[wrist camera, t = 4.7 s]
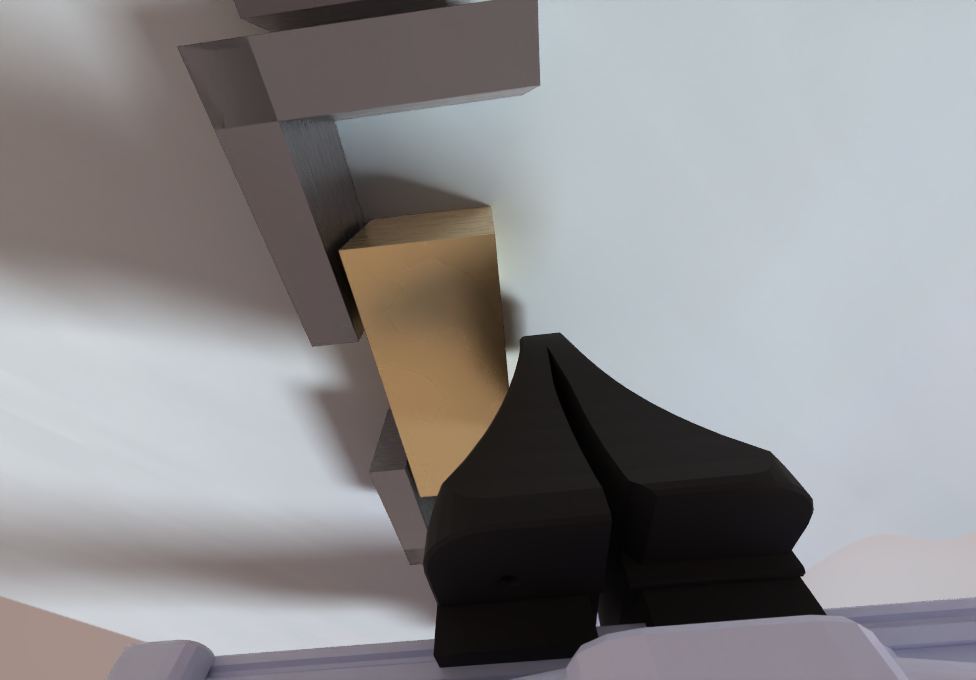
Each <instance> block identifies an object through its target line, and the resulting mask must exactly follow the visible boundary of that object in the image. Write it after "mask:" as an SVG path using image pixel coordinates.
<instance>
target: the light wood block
mask: <svg viewBox="0 0 976 680" xmlns="http://www.w3.org/2000/svg"><path fill="white" fill-rule="evenodd" d="M339 253H340V256H341V259H342V262H343V265H344V268H345V272H346V275H347V278H348V281H349V284H350V287H351V290H352V293H353V296H354V299H355V302H356V305H357V308H358V311H359V314H360V317H361V320H362V323H363V326H364V329H365V332H366V335H367V338H368V341H369V344H370V347H371V350H372V353H373V356H374V359H375V362H376V365H377V368H378V371H379V374H380V377H381V380H382V383H383V386H384V389H385V392H386V395H387V398H388V401H389V404H390V407H391V410H392V413H393V416H394V419H395V422H396V425H397V428H398V431H399V434H400V437H401V440H402V443H403V446H404V449H405V452H406V455H407V458H408V462H409V465H410V468H411V471H412V474H413V477H414V480H415V483H416V486H417V489H418V492H419V495H420V497H427V496H437V495H438V493H439V490H440V487H441V485H442V483H443V482H444V481H445V480H446V479H447V478H448V477H449V476H450V475H451V474H452V473H453V472H454V470H455V469H456V468H457V467H458V466H459V465H460V464H461V463H462V462H463V461H464V460H465V458H466V457H467V456H468V455H469V453H470V452H471V451H472V449H473V448H474V447H475V445H476V444H477V443H478V442H479V440H480V439H481V438H482V436H483V435H484V433H485V432H486V430H487V429H488V427H489V426H490V424H491V422H492V421H493V419H494V417H495V416H496V414H497V412H498V410H499V408H500V407H501V405H502V403H503V401H504V398H505V396H506V394H507V392H508V389H509V383H508V372H507V361H506V350H505V339H504V328H503V317H502V306H501V295H500V284H499V273H498V263H497V252H496V241H495V231H494V224H493V216H492V209H491V206H486V207H477V208H468V209H460V210H451V211H442V212H433V213H424V214H415V215H406V216H397V217H389V218H380V219H372V220H371V221H370V222H369V223H368V224H367V225H366V226H365V227H363V228H362V229H361V230H360V231H359V232H358V233H357V234H356V235H355V236H354V237H353V238H352V239H350V240H349V241H348V242H347V243H346V244H345V245H344V246H343V247H342V248H341V249H340V250H339Z"/></svg>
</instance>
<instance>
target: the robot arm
mask: <svg viewBox="0 0 976 680" xmlns="http://www.w3.org/2000/svg"><path fill="white" fill-rule="evenodd" d="M813 510H814V509H813V499H812V498H811V497H810V495H809V494H808V493H807V491H806V490H805V489H804V488H803V487H802V485H801V484H800V483H799V482H798V481H797V480H796V479H795V477H794V476H793V475H792V474H791V473H790V472H789V470H788V469H787V468H786V467H785V466H784V465H783V464H782V463H781V462H780V461H779V460H778V459H777V458H776V457H775V456H774V455H773V454H772V453H771V452H770V451H767V450H764V449H761V448H758V447H756V446H753V445H750V444H747V443H744V442H741V441H738V440H735V439H732V438H729V437H726V436H724V435H721V434H718V433H716V432H713V431H711V430H708V429H706V428H704V427H701V426H699V425H696V424H694V423H692V422H689V421H687V420H685V419H683V418H681V417H678V416H676V415H674V414H672V413H670V412H668V411H666V410H664V409H662V408H660V407H658V406H656V405H654V404H653V403H651V402H649V401H647V400H645V399H644V398H642V397H640V396H639V395H637V394H635V393H634V392H632V391H631V390H629V389H627V388H626V387H624V386H623V385H621V384H620V383H618V382H617V381H615V380H614V379H613V378H611V377H610V376H609V375H607V374H606V373H605V372H603V371H602V370H601V369H600V368H598V367H597V366H596V365H595V364H594V363H593V362H591V361H590V360H589V359H588V358H587V357H586V356H584V355H583V354H582V353H581V352H580V351H579V350H578V349H577V348H576V347H575V346H574V345H573V344H572V343H571V342H570V341H568V340H567V339H566V338H565V337H564V336H563V335H562V334H561V333H551V334H542V335H533V336H523V337H522V338H521V339H520V353H519V358H518V362H517V366H516V369H515V373H514V376H513V379H512V381H511V384H510V387H509V389H508V392H507V394H506V396H505V398H504V401H503V403H502V405H501V407H500V408H499V410H498V412H497V414H496V416H495V417H494V419H493V421H492V422H491V424H490V426H489V427H488V429H487V430H486V432H485V433H484V435H483V436H482V438H481V439H480V440H479V442H478V443H477V444H476V445H475V447H474V448H473V449H472V451H471V452H470V453H469V455H468V456H467V457H466V458H465V460H464V461H463V462H462V463H461V464H460V465H459V466H458V467H457V468H456V469H455V470H454V472H453V473H452V474H451V475H450V476H449V477H448V478H447V479H446V480H445V481H444V482H443V483H442V485H441V487H440V490H439V493H438V495H437V498H436V501H435V504H434V507H433V510H432V513H431V517H430V521H429V525H428V530H427V535H426V543H425V551H424V559H423V566H424V573H425V575H426V578H427V580H428V582H429V585H430V587H431V590H432V592H433V594H434V597H435V599H436V602H437V616H436V629H435V639H430V640H417V641H404V642H392V643H379V644H366V645H353V646H340V647H327V648H314V649H301V650H288V651H275V652H262V653H249V654H237V655H224V656H214V654H213V652H212V651H211V650H210V649H209V648H207V647H206V646H205V645H203V644H201V643H198V642H195V641H190V640H172V641H159V642H147V643H134V644H131V645H129V646H127V647H126V648H125V649H124V651H123V652H122V654H121V655H120V657H119V658H118V660H117V661H116V663H115V664H114V666H113V667H112V669H111V670H110V672H109V673H108V675H107V676H106V678H105V679H104V680H976V597H973V598H961V599H948V600H934V601H921V602H909V603H896V604H883V605H870V606H856V607H844V608H831V609H822V607H821V606H820V604H819V603H818V602H817V600H816V599H815V597H814V596H813V594H812V593H811V591H810V590H809V589H808V587H807V586H806V585H805V583H804V582H803V580H802V579H801V576H804V574H805V569H804V567H803V565H802V564H801V562H800V561H799V560H798V558H797V557H796V556H795V554H794V553H793V551H792V549H793V547H794V546H795V544H796V542H797V541H798V539H799V538H800V536H801V535H802V533H803V532H804V530H805V529H806V527H807V525H808V524H809V521H810V519H811V516H812V514H813Z"/></svg>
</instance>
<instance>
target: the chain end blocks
mask: <svg viewBox="0 0 976 680" xmlns="http://www.w3.org/2000/svg"><path fill="white" fill-rule="evenodd" d="M234 2H235V4H236V7H237V10H238V13H239V15H240V18H241V19H243V20H246V21H248V22H250V23H253V24H255V25H257V26H260V27H262V28H264V29H267V30H269V31H271V32H273V33H266V34H259V35H253V36H246V37H239V38H232V39H225V40H219V41H212V42H205V43H198V44H191V45H184V46H178V49H179V52H180V54H181V56H182V58H183V60H184V63H185V65H186V67H187V69H188V72H189V74H190V76H191V78H192V80H193V83H194V85H195V87H196V89H197V92H198V94H199V96H200V98H201V100H202V103H203V105H204V107H205V109H206V112H207V114H208V116H209V118H210V120H211V123H212V125H213V127H214V129H215V132H216V134H217V136H218V138H219V140H220V143H221V145H222V147H223V149H224V152H225V154H226V156H227V158H228V160H229V163H230V165H231V167H232V169H233V172H234V174H235V176H236V178H237V180H238V183H239V185H240V187H241V189H242V192H243V194H244V196H245V198H246V200H247V203H248V205H249V207H250V209H251V212H252V214H253V216H254V218H255V220H256V223H257V225H258V227H259V229H260V232H261V234H262V236H263V238H264V240H265V243H266V245H267V247H268V249H269V252H270V254H271V256H272V258H273V260H274V263H275V265H276V267H277V269H278V272H279V274H280V276H281V278H282V280H283V283H284V285H285V287H286V289H287V292H288V294H289V296H290V298H291V300H292V303H293V305H294V307H295V309H296V312H297V314H298V316H299V318H300V320H301V323H302V325H303V327H304V329H305V332H306V334H307V336H308V338H309V340H310V343H311V345H312V347H314V346H323V345H332V344H341V343H350V342H358V341H359V339H360V337H361V336H362V334H363V332H364V330H365V329H364V326H363V323H362V320H361V317H360V314H359V311H358V308H357V305H356V302H355V299H354V296H353V293H352V290H351V287H350V284H349V281H348V278H347V275H346V272H345V268H344V265H343V262H342V259H341V256H340V253H339V250H340V249H341V248H342V247H343V246H344V245H345V244H346V243H347V242H348V241H349V240H350V239H352V238H353V237H354V236H355V235H356V234H357V233H358V232H359V231H360V230H361V229H362V228H363V227H365V224H364V221H363V217H362V214H361V211H360V207H359V204H358V200H357V197H356V194H355V190H354V187H353V183H352V180H351V176H350V173H349V170H348V166H347V163H346V159H345V156H344V153H343V149H342V146H341V142H340V139H339V135H338V132H337V129H336V125H335V122H334V121H336V120H343V119H351V118H358V117H365V116H373V115H380V114H387V113H395V112H402V111H409V110H417V109H424V108H431V107H439V106H446V105H453V104H461V103H468V102H476V101H483V100H490V99H498V98H505V97H512V96H520V95H523V94H525V93H527V92H529V91H531V90H532V89H534V88H536V87H538V86H540V66H539V32H538V0H491V1H484V2H477V3H470V4H464V5H457V6H450V7H448V3H447V0H234ZM369 474H370V476H371V478H372V480H373V483H374V485H375V487H376V489H377V492H378V494H379V496H380V498H381V500H382V503H383V505H384V507H385V509H386V512H387V514H388V516H389V518H390V520H391V523H392V525H393V527H394V529H395V532H396V534H397V536H398V538H399V540H400V543H401V545H402V547H403V549H404V552H405V554H406V556H407V558H408V560H409V563H410V565H416V564H423V559H424V551H425V543H426V535H427V530H428V525H429V521H430V517H431V513H432V510H433V507H434V504H435V501H436V498H437V496H427V497H420V495H419V492H418V489H417V486H416V483H415V480H414V477H413V474H412V471H411V468H410V465H409V462H408V458H407V455H406V452H405V449H404V446H403V443H402V440H401V437H400V434H399V431H398V428H397V425H396V422H395V419H394V416H393V413H392V410H391V409H389V410H388V413H387V416H386V419H385V422H384V426H383V429H382V432H381V435H380V439H379V442H378V445H377V448H376V452H375V455H374V458H373V461H372V465H371V468H370V471H369Z"/></svg>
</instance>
